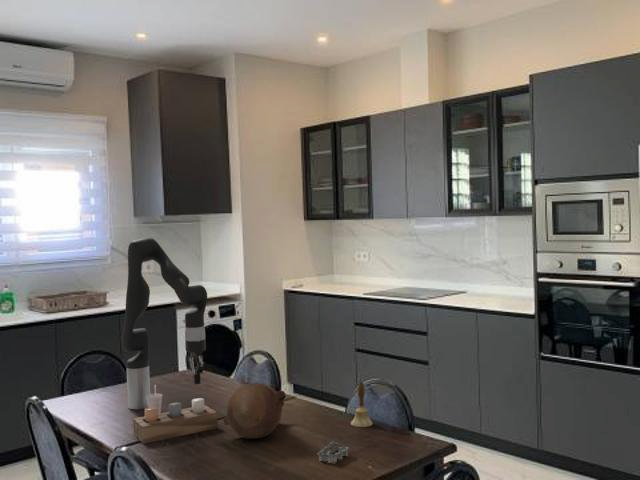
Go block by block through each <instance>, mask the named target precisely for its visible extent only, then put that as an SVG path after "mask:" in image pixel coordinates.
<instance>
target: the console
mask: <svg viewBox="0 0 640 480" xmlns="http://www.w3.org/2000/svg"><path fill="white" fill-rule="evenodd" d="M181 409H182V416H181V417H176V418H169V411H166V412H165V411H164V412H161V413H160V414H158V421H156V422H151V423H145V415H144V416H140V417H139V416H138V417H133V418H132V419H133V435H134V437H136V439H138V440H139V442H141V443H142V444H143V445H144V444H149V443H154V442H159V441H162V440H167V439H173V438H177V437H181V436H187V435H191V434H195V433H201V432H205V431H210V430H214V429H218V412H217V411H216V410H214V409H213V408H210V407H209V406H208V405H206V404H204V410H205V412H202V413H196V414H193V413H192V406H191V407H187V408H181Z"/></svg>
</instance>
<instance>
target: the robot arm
mask: <svg viewBox="0 0 640 480" xmlns="http://www.w3.org/2000/svg"><path fill="white" fill-rule="evenodd" d="M152 260H153V261H154V262H155V263H157V264H158V266H159V267H160V274H161V277H162V279H163V280H164V282H165V283H166V284H167V285H168V286H169V287H170V288H171V289H172V290H174V293H175V295H176V296H177V298H178V300H179V301H180V302H181V304H183V305H185V306H191V309H190V310H188V311H187V312H185V314H184V320H185V321H184V322H185V323H184V324H185V327H184V328H185V331H184V341H185V342H184V343H185V344H184V345H185V351H186V352H187V353H189V357H187V362H188V365H189V366H188V367H189V369H190V372H192V377H193V378H192V379H193V384H195V385H200V384H201V374H203V373H204V370H205V366H206V361H205V360H204V361H203V359H204V358H203V357H204V356H203V352H204V351H206V350H207V348H206V347H207V345H206V342H207V341H206V329H205V316H204V315H205V311H206V306H207V302H208V292H207V289H206V288H205V287H204V286H203V285H201V284H196V285H191V286H190V279H189V277H188V276H187V275H186V274H185V273H184V272H183V271H182V270H181V269H180V268H178V267H177V266H176V265H175V264H174V262H173V261H172V260H171V258H170V257H169V255H167V253H166V252H165V251H164V249H163V248H162V247H161V245H160V244H159V243H158V241H157V240H155V239H154V238H152V237H144V238H140V239H135V240H132V241H131V242H129V244H128V248H127V274H128V275H127V286H126V295H125V310H124V313H125V314H124V320H123V326H122V333H121V339H120V340H121V348H122V350H123V351H124V352H126V353H127V352H128V353H130V352H137V353H136V354H135V355H134V356H133V357H130V358H129V359H127V361H126V363H125V364H126V380H127V381H126V386H127V406H128V409H130V410H145V408H148V403H147V399H146V396H147V395H149V394H151V382H150V381H151V379H150V377H151V376H150V335H149V332H148V331H149V330H148V329H146V328H145V327H144V328H143V327H141V328H135V325H136V323H137V322H138V320H139V319H140V318H141V316H142V315H143V314H144V313H145V311H146V310H147V308H148V307H149V304H150V296H151V293H150V292H151V290H150V286H149V284H148V283H147V281H146V279H145V278H144V276H143V273H142V268H143V267H142V266H143V263H146V262H149V261H152Z"/></svg>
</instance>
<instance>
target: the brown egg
mask: <svg viewBox="0 0 640 480" xmlns="http://www.w3.org/2000/svg"><path fill="white" fill-rule="evenodd" d="M144 416H145V423H151V422H156V421H158V408H157V407H147V408H144Z"/></svg>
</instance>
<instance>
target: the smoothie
mask: <svg viewBox="0 0 640 480" xmlns="http://www.w3.org/2000/svg"><path fill="white" fill-rule="evenodd" d="M153 386H154V393H150V394H149V395H147V396H146V399H147V403H148V407H157V408H158V414H160V413H162V412H161V411H162V399H163V394H162V393H157V384H154V385H153ZM148 407H147V408H148Z"/></svg>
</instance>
